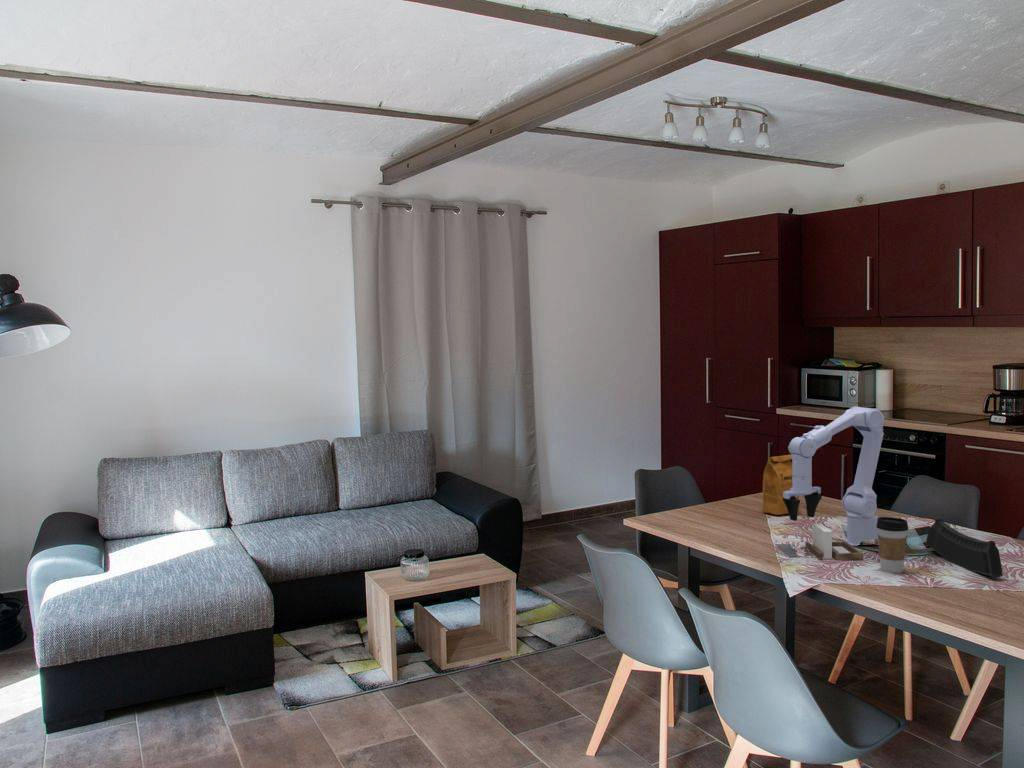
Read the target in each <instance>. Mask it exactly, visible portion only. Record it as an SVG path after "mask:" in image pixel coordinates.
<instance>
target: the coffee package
mask: <svg viewBox="0 0 1024 768" xmlns="http://www.w3.org/2000/svg"><path fill="white" fill-rule="evenodd" d="M791 460H792V458H791V454H787V455H786V454H783V455H778V456H777V455H776V456H770V457H769V459H768V460H767V462H766V466H765V467H764V471H763V476H762V477H763V478H762V511H763V513H764V514H770V515H775V516H782V515H789V513H788V509H787V507H786V505H785V503H784V501H783V492H785V491H788V490H790V489H791V488H793V483H792V461H791ZM795 498H796V499H798V500H800V496H798V497H795ZM799 510H800V506H799V507H798V512H799Z"/></svg>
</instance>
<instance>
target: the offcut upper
mask: <svg viewBox="0 0 1024 768" xmlns="http://www.w3.org/2000/svg"><path fill="white" fill-rule="evenodd" d="M832 548H833V549H834V550H836V551H837V552H838V553H850V552H849V551H847V550H846V549H845V548H843V547H842V546H838V547H832Z"/></svg>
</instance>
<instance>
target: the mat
mask: <svg viewBox="0 0 1024 768" xmlns="http://www.w3.org/2000/svg"><path fill="white" fill-rule="evenodd" d="M791 544H793V546H794V547H795V545H794V544H795V543H783V544H782V543H778V544H777V543H776V544H775V546H776V545H777V546H778V547H779V548H780V549H779V548H778V547H777V546H776V547H777V548H778V549H779V550H781V552H783V551H784V552H785V553H786V554H787V555H788V556H789V557H788V556H787V555H786V554H785V553H784V552H783V553H784V554H785V555H786V556H787V557H788V558H798V557H797V556H798V555H796V554H797V553H796V552H797V551H796V550H795V549H793V548H792V547H791ZM804 552H806V553H804V554H805V556H812V557H813V554H811V553H810V552H809V551H808V550H806V551H804Z"/></svg>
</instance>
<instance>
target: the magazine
mask: <svg viewBox="0 0 1024 768" xmlns="http://www.w3.org/2000/svg"><path fill="white" fill-rule="evenodd" d="M934 520H935V521H934V523H933V524H932V525H931V527H930V529H929V530H928V532H927V536H926V541H925V542H926V543H925V544H927V545H928V546H929V547H930V548H931V549H932V550H933V551H934V552H935V553H936V552H937V553H938V554H937V555H940V556H942V557H943V558H944V559H946V561H949V562H950V563H952V564H954V565H956V566H959V567H960V568H962V569H965V570H967V569H968V571H970V572H974V573H978V574H983V575H986V576H990V577H992V578H1001V577H1003V576H1004V573H1003V568H1002V561H1001V555H1000V549H999V548H998V547H997V545H996V542H995V541H994V540H989V541H985V540H981V539H978V538H975V537H973V536H968V535H967V534H964V533H962V532H959V531H958V530H957V529H955V528H953V527H951V526H950V525H949V524H948V523H946V522H944V521H943V519H942V518H936V519H934Z"/></svg>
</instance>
